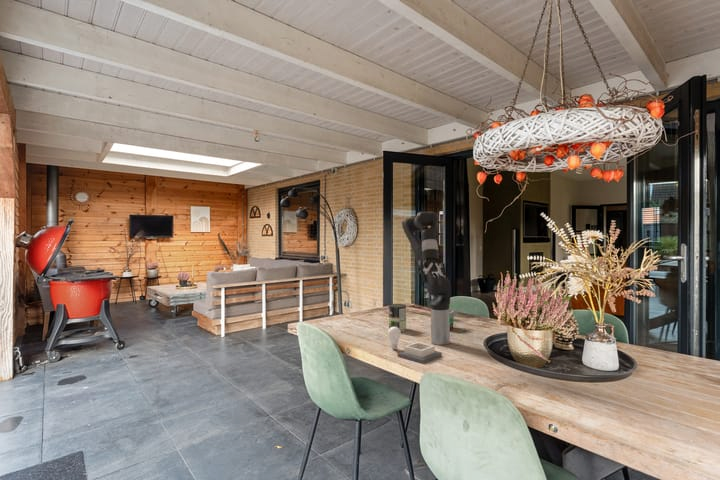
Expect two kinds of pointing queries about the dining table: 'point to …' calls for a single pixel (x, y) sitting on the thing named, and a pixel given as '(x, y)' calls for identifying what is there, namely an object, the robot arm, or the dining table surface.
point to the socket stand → (419, 352)
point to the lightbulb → (394, 336)
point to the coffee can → (397, 316)
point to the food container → (451, 318)
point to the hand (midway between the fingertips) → (433, 283)
